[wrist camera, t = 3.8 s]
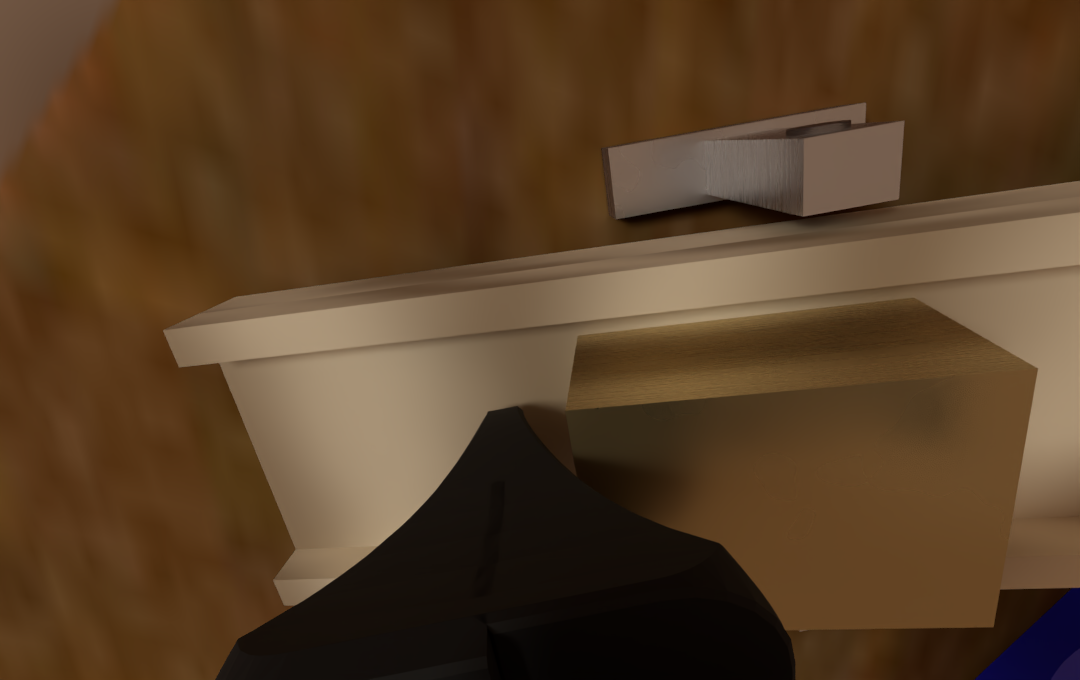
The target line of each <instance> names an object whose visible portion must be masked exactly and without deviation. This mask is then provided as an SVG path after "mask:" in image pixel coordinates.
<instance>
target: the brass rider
mask: <svg viewBox="0 0 1080 680" xmlns="http://www.w3.org/2000/svg"><path fill="white" fill-rule="evenodd" d="M1037 372H1038V368H1036V367H1035V366H1033V365H1031V364H1029V363H1028V362H1026V361H1024V360H1022V359H1021V358H1019V357H1017V356H1015V355H1014V354H1012V353H1010V352H1008V351H1007V350H1005V349H1003V348H1001V347H1000V346H998V345H996V344H994V343H993V342H991V341H989V340H987V339H986V338H984V337H982V336H980V335H979V334H977V333H975V332H973V331H972V330H970V329H968V328H966V327H965V326H963V325H961V324H959V323H958V322H956V321H954V320H952V319H951V318H949V317H947V316H945V315H944V314H942V313H940V312H938V311H937V310H935V309H933V308H931V307H930V306H928V305H926V304H924V303H923V302H921V301H919V300H917V299H916V298H914V297H913V298H905V299H896V300H887V301H878V302H869V303H861V304H852V305H843V306H834V307H826V308H817V309H808V310H799V311H790V312H782V313H773V314H764V315H755V316H747V317H738V318H729V319H720V320H711V321H703V322H694V323H685V324H676V325H667V326H659V327H650V328H641V329H632V330H624V331H615V332H606V333H597V334H588V335H580V336H578V337H577V343H576V349H575V355H574V361H573V367H572V373H571V379H570V386H569V392H568V398H567V404H566V410H565V412H566V417H567V423H568V429H569V435H570V441H571V446H572V452H573V458H574V464H575V469H576V475H577V477H578V478H579V479H580V480H582V481H583V482H584V483H586V484H587V485H588V486H590V487H591V488H592V489H594V490H595V491H597V492H598V493H600V494H601V495H603V496H604V497H606V498H607V499H609V500H611V501H613V502H615V503H616V504H618V505H620V506H622V507H624V508H625V509H627V510H629V511H631V512H633V513H635V514H637V515H640V516H642V517H644V518H647V519H649V520H652V521H654V522H656V523H659V524H661V525H664V526H666V527H669V528H672V529H675V530H678V531H682V532H685V533H688V534H691V535H695V536H698V537H701V538H704V539H708V540H711V541H714V542H717V543H720V544H721V545H722V546H723V547H724V548H725V549H726V550H727V551H728V552H729V553H730V554H731V556H732V557H733V558H734V559H735V560H736V561H737V563H738V564H739V565H740V566H741V567H742V569H743V570H744V571H745V572H746V573H747V575H748V576H749V577H750V578H751V580H752V581H753V582H754V583H755V585H756V586H757V587H758V588H759V590H760V591H761V592H762V593H763V595H764V596H765V598H766V599H767V600H768V602H769V603H770V605H771V606H772V608H773V609H774V611H775V612H776V614H777V616H778V617H779V619H780V621H781V622H782V625H783V627H784V629H785V630H836V629H904V628H973V627H994V622H995V616H996V610H997V604H998V599H999V593H1000V587H1001V581H1002V575H1003V570H1004V564H1005V558H1006V552H1007V546H1008V541H1009V535H1010V529H1011V523H1012V517H1013V512H1014V506H1015V500H1016V494H1017V488H1018V483H1019V477H1020V471H1021V465H1022V459H1023V454H1024V448H1025V442H1026V436H1027V430H1028V425H1029V419H1030V413H1031V407H1032V401H1033V396H1034V390H1035V384H1036V378H1037Z"/></svg>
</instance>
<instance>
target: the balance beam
mask: <svg viewBox="0 0 1080 680" xmlns="http://www.w3.org/2000/svg"><path fill="white" fill-rule="evenodd" d="M913 297H914V298H916V299H917V300H919V301H921V302H923V303H924V304H926V305H928V306H930V307H931V308H933V309H935V310H937V311H938V312H940V313H942V314H944V315H945V316H947V317H949V318H951V319H952V320H954V321H956V322H958V323H959V324H961V325H963V326H965V327H966V328H968V329H970V330H972V331H973V332H975V333H977V334H979V335H980V336H982V337H984V338H986V339H987V340H989V341H991V342H993V343H994V344H996V345H998V346H1000V347H1001V348H1003V349H1005V350H1007V351H1008V352H1010V353H1012V354H1014V355H1015V356H1017V357H1019V358H1021V359H1022V360H1024V361H1026V362H1028V363H1029V364H1031V365H1033V366H1035V367H1036V368H1038V372H1037V378H1036V384H1035V390H1034V396H1033V401H1032V407H1031V413H1030V419H1029V425H1028V430H1027V436H1026V442H1025V448H1024V454H1023V459H1022V465H1021V471H1020V477H1019V483H1018V488H1017V494H1016V500H1015V506H1014V512H1013V517H1012V523H1011V529H1010V535H1009V541H1008V546H1007V552H1006V558H1005V564H1004V570H1003V575H1002V581H1001V587H1000V589H1042V588H1080V181H1075V182H1068V183H1061V184H1053V185H1046V186H1039V187H1032V188H1024V189H1017V190H1010V191H1003V192H995V193H988V194H981V195H973V196H966V197H959V198H952V199H944V200H937V201H930V202H923V203H915V204H908V205H901V206H894V207H886V208H879V209H872V210H864V211H857V212H850V213H843V214H835V215H828V216H821V217H814V218H806V219H799V220H792V221H784V222H777V223H770V224H763V225H755V226H748V227H741V228H734V229H726V230H719V231H712V232H705V233H697V234H690V235H683V236H675V237H668V238H661V239H654V240H646V241H639V242H632V243H625V244H617V245H610V246H603V247H596V248H588V249H581V250H574V251H566V252H559V253H552V254H545V255H537V256H530V257H523V258H516V259H508V260H501V261H494V262H487V263H479V264H472V265H465V266H457V267H450V268H443V269H436V270H428V271H421V272H414V273H407V274H399V275H392V276H385V277H377V278H370V279H363V280H356V281H348V282H341V283H334V284H327V285H319V286H312V287H305V288H298V289H290V290H283V291H276V292H268V293H261V294H254V295H247V296H239V297H235V298H232V299H230V300H228V301H226V302H224V303H221V304H219V305H217V306H215V307H213V308H211V309H208V310H206V311H204V312H202V313H200V314H197V315H195V316H193V317H191V318H189V319H187V320H184V321H182V322H180V323H178V324H176V325H173V326H171V327H169V328H167V329H165V330H163V332H164V334H165V336H166V339H167V341H168V343H169V345H170V348H171V350H172V352H173V354H174V357H175V359H176V361H177V363H178V366H179V367H186V366H195V365H204V364H212V363H220V366H221V368H222V371H223V373H224V376H225V378H226V380H227V383H228V385H229V388H230V390H231V393H232V395H233V397H234V400H235V402H236V405H237V407H238V410H239V412H240V414H241V417H242V419H243V422H244V424H245V427H246V429H247V432H248V434H249V436H250V439H251V441H252V444H253V446H254V449H255V451H256V453H257V456H258V458H259V461H260V463H261V466H262V468H263V470H264V473H265V475H266V478H267V480H268V483H269V485H270V487H271V490H272V492H273V495H274V497H275V500H276V502H277V505H278V507H279V509H280V512H281V514H282V517H283V519H284V522H285V524H286V526H287V529H288V531H289V534H290V536H291V539H292V541H293V543H294V546H295V548H296V550H295V552H294V553H293V554H292V556H291V557H290V558H289V560H288V561H287V562H286V564H285V565H284V566H283V568H282V569H281V570H280V572H279V573H278V574H277V576H276V577H275V578H274V580H273V581H274V583H275V586H276V588H277V590H278V592H279V595H280V597H281V599H282V602H283V604H284V605H297V604H299V603H300V602H302V601H304V600H305V599H307V598H308V597H310V596H311V595H313V594H314V593H316V592H317V591H319V590H320V589H322V588H323V587H325V586H326V585H328V584H329V583H330V582H332V581H333V580H335V579H336V578H338V577H339V576H340V575H342V574H343V573H345V572H346V571H347V570H349V569H350V568H351V567H353V566H354V565H355V564H357V563H358V562H359V561H361V560H362V559H363V558H365V557H366V556H367V555H368V554H370V553H371V552H372V551H373V550H374V549H375V548H376V547H378V546H379V545H380V544H381V543H382V542H383V541H385V540H386V539H387V538H388V537H389V536H390V535H392V534H393V533H394V532H395V531H396V530H397V529H398V528H400V527H401V526H402V525H403V524H404V523H405V522H406V521H407V520H408V519H409V518H410V517H411V516H412V515H413V514H414V513H415V512H416V511H417V510H418V509H419V508H420V507H421V506H422V505H423V504H424V503H425V502H426V501H427V499H428V498H429V497H430V496H431V495H432V494H433V493H434V492H435V490H436V489H437V488H438V487H439V485H440V484H441V483H442V481H443V480H444V479H445V478H446V476H447V475H448V474H449V472H450V471H451V470H452V468H453V467H454V466H455V464H456V463H457V461H458V460H459V458H460V457H461V455H462V454H463V452H464V451H465V449H466V448H467V446H468V445H469V443H470V441H471V440H472V438H473V436H474V435H475V433H476V431H477V430H478V428H479V426H480V424H481V423H482V421H483V419H484V418H485V416H486V415H487V412H488V411H493V410H498V409H504V408H509V407H514V406H518V407H519V408H520V409H522V410H523V413H524V416H525V418H526V420H527V422H528V424H529V425H530V427H531V428H532V430H533V431H534V432H535V434H536V435H537V436H538V438H539V439H540V440H541V441H542V442H543V444H544V445H545V446H546V447H547V448H548V449H549V451H550V452H551V453H552V454H553V455H554V456H555V457H556V458H557V459H558V460H559V461H560V462H561V463H562V464H563V465H564V466H565V467H566V468H567V469H569V470H570V471H571V472H572V473H573V474H574V475H575V476H577V475H576V469H575V464H574V458H573V452H572V446H571V441H570V435H569V429H568V423H567V417H566V412H565V410H566V404H567V398H568V392H569V386H570V379H571V373H572V367H573V361H574V355H575V349H576V343H577V337H578V336H580V335H588V334H597V333H606V332H615V331H624V330H632V329H641V328H650V327H659V326H667V325H676V324H685V323H694V322H703V321H711V320H720V319H729V318H738V317H747V316H755V315H764V314H773V313H782V312H790V311H799V310H808V309H817V308H826V307H834V306H843V305H852V304H861V303H869V302H878V301H887V300H896V299H905V298H913Z"/></svg>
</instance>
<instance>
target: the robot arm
mask: <svg viewBox="0 0 1080 680" xmlns="http://www.w3.org/2000/svg"><path fill="white" fill-rule="evenodd" d="M215 680H795V659H794V653H793V648H792V643H791V639H790V637H789V636H788V634H787V632H786V631H785V629H784V627H783V625H782V622H781V621H780V619H779V617H778V616H777V614H776V612H775V611H774V609H773V608H772V606H771V605H770V603H769V602H768V600H767V599H766V598H765V596H764V595H763V593H762V592H761V591H760V590H759V588H758V587H757V586H756V585H755V583H754V582H753V581H752V580H751V578H750V577H749V576H748V575H747V573H746V572H745V571H744V570H743V569H742V567H741V566H740V565H739V564H738V563H737V561H736V560H735V559H734V558H733V557H732V556H731V554H730V553H729V552H728V551H727V550H726V549H725V548H724V547H723V546H722V545H721V544H720V543H717V542H714V541H711V540H708V539H704V538H701V537H698V536H695V535H691V534H688V533H685V532H682V531H678V530H675V529H672V528H669V527H666V526H664V525H661V524H659V523H656V522H654V521H652V520H649V519H647V518H644V517H642V516H640V515H637V514H635V513H633V512H631V511H629V510H627V509H625V508H624V507H622V506H620V505H618V504H616V503H615V502H613V501H611V500H609V499H607V498H606V497H604V496H603V495H601V494H600V493H598V492H597V491H595V490H594V489H592V488H591V487H590V486H588V485H587V484H586V483H584V482H583V481H582V480H580V479H579V478H578V477H577V476H575V475H574V474H573V473H572V472H571V471H570V470H569V469H567V468H566V467H565V466H564V465H563V464H562V463H561V462H560V461H559V460H558V459H557V458H556V457H555V456H554V455H553V454H552V453H551V452H550V451H549V449H548V448H547V447H546V446H545V445H544V444H543V442H542V441H541V440H540V439H539V438H538V436H537V435H536V434H535V432H534V431H533V430H532V428H531V427H530V425H529V424H528V422H527V420H526V418H525V416H524V413H523V410H522V409H520V408H519V407H518V406H514V407H509V408H504V409H498V410H493V411H488V412H487V415H486V416H485V418H484V419H483V421H482V423H481V424H480V426H479V428H478V430H477V431H476V433H475V435H474V436H473V438H472V440H471V441H470V443H469V445H468V446H467V448H466V449H465V451H464V452H463V454H462V455H461V457H460V458H459V460H458V461H457V463H456V464H455V466H454V467H453V468H452V470H451V471H450V472H449V474H448V475H447V476H446V478H445V479H444V480H443V481H442V483H441V484H440V485H439V487H438V488H437V489H436V490H435V492H434V493H433V494H432V495H431V496H430V497H429V498H428V499H427V501H426V502H425V503H424V504H423V505H422V506H421V507H420V508H419V509H418V510H417V511H416V512H415V513H414V514H413V515H412V516H411V517H410V518H409V519H408V520H407V521H406V522H405V523H404V524H403V525H402V526H401V527H400V528H398V529H397V530H396V531H395V532H394V533H393V534H392V535H390V536H389V537H388V538H387V539H386V540H385V541H383V542H382V543H381V544H380V545H379V546H378V547H376V548H375V549H374V550H373V551H372V552H371V553H370V554H368V555H367V556H366V557H365V558H363V559H362V560H361V561H359V562H358V563H357V564H355V565H354V566H353V567H351V568H350V569H349V570H347V571H346V572H345V573H343V574H342V575H340V576H339V577H338V578H336V579H335V580H333V581H332V582H330V583H329V584H328V585H326V586H325V587H323V588H322V589H320V590H319V591H317V592H316V593H314V594H313V595H311V596H310V597H308V598H307V599H305V600H304V601H302V602H300V603H299V604H297V605H295V606H294V607H292V608H290V609H289V610H287V611H285V612H284V613H282V614H280V615H279V616H277V617H275V618H274V619H272V620H270V621H269V622H267V623H265V624H263V625H262V626H260V627H258V628H257V629H255V630H253V631H252V632H250V633H248V634H246V635H244V636H243V637H241V638H239V639H238V640H237V642H236V644H235V645H234V647H233V649H232V650H231V652H230V654H229V656H228V658H227V659H226V661H225V663H224V665H223V667H222V668H221V670H220V672H219V674H218V676H217V678H216V679H215Z"/></svg>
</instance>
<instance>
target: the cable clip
mask: <svg viewBox="0 0 1080 680" xmlns="http://www.w3.org/2000/svg"><path fill="white" fill-rule="evenodd" d="M975 680H1080V588H1072V589H1071V590H1070V591H1069V592H1068V593H1066V594H1065V595H1064V596H1063V597H1062V598H1061V599H1060V600H1059V601H1058V602H1057V603H1056V604H1055V605H1054V606H1053V607H1052V608H1050V609H1049V610H1048V611H1047V612H1046V613H1045V614H1044V615H1043V616H1042V617H1041V618H1040V619H1039V620H1038V621H1037V622H1035V623H1034V624H1033V625H1032V626H1031V627H1030V628H1029V629H1028V630H1027V631H1026V632H1025V633H1024V634H1023V635H1022V636H1021V637H1019V638H1018V639H1017V640H1016V641H1015V642H1014V643H1013V644H1012V645H1011V646H1010V647H1009V648H1008V649H1007V650H1006V651H1004V652H1003V653H1002V654H1001V655H1000V656H999V657H998V658H997V659H996V660H995V661H994V662H993V663H992V664H991V665H990V666H988V667H987V668H986V669H985V670H984V671H983V672H982V673H981V674H980V675H979V676H978V677H977V678H976V679H975Z"/></svg>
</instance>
